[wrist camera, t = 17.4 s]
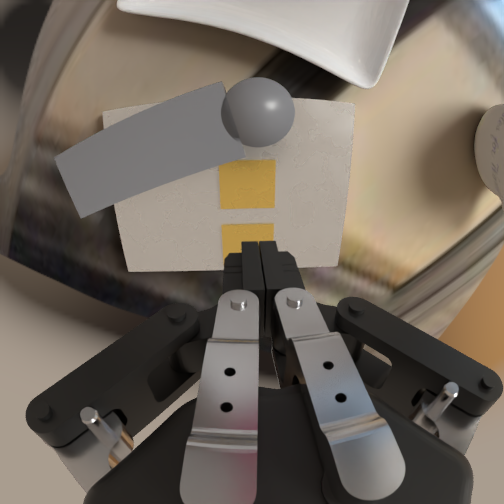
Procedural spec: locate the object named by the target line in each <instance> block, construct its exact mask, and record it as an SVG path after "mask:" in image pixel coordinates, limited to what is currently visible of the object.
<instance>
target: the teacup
mask: <svg viewBox="0 0 504 504" xmlns="http://www.w3.org/2000/svg"><path fill="white" fill-rule="evenodd" d="M474 152H475V159H476V165H477V169H478V172H479V174H480V177H481V179H482V180H483V182H484V184H485V185H486V186H487V187H488V188H489V189H490V190H491V191H492V192H493V193H494V194H496V195H497V196H499V198H500V200H501V202H502V207H503V211H504V104H499V105H495V106H493V107H491V108H490V109H489V110H487V112H486V113H485V114H484V115H483V117H482V119H481V121H480V123H479V125H478V128H477V130H476V134H475V141H474Z"/></svg>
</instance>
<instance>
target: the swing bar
mask: <svg viewBox="0 0 504 504" xmlns="http://www.w3.org/2000/svg"><path fill="white" fill-rule="evenodd" d="M294 118H295V107H294V103H293V100H292V98H291V96H290V94H289V93H288V91H287V90H286V89H285V88H284V87H283V86H281V85H280V84H279V83H277V82H275V81H273V80H270V79H267V78H260V77H256V78H249V79H245V80H243V81H241V82H239V83H237V84H236V85H234V86H233V87H232V88H231V89H230V90H229V91H228V92H227V93H226V90H225V87H224V84H223V83H222V81H221V82H218V83H215V84H212V85H208V86H205V87H202V88H200V89H197V90H194V91H191V92H188V93H185V94H183V95H180V96H177V97H175V98H172V99H170V100H167V101H165V102H162V103H160V104H157V105H155V106H153V107H150V108H148V109H146V110H143V111H141V112H139V113H137V114H134V115H132V116H130V117H128V118H126V119H124V120H122V121H119V122H117V123H115V124H113V125H111V126H109V127H107V128H105V129H103V130H102V131H100V132H98V133H96V134H94V135H92V136H90V137H88V138H87V139H85V140H83V141H81V142H80V143H78V144H76V145H74V146H73V147H71V148H69V149H68V150H66V151H64V152H63V153H61V154H59V155H58V156H56V157H54V159H55V161H56V164H57V166H58V169H59V171H60V174H61V176H62V178H63V181H64V183H65V185H66V187H67V190H68V192H69V194H70V196H71V198H72V201H73V203H74V205H75V207H76V209H77V211H78V213H79V215H80V217H81V218H83V217H86V216H88V215H90V214H92V213H95V212H97V211H99V210H102V209H104V208H106V207H108V206H111V205H113V204H116V203H118V202H120V201H123V200H125V199H128V198H130V197H133V196H135V195H138V194H140V193H143V192H145V191H148V190H151V189H153V188H156V187H159V186H161V185H164V184H167V183H169V182H172V181H175V180H178V179H180V178H183V177H186V176H189V175H192V174H195V173H198V172H201V171H204V170H207V169H210V168H213V167H216V166H219V165H222V164H226V163H229V162H232V161H235V160H239V159H242V158H245V157H246V155H245V149H244V146H243V145H246V146H250V147H266V146H270V145H273V144H275V143H277V142H278V141H280V140H281V139H283V138H284V137H285V136H286V135H287V133H288V132H289V131H290V129H291V127H292V125H293V122H294Z"/></svg>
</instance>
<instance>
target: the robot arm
mask: <svg viewBox="0 0 504 504" xmlns="http://www.w3.org/2000/svg"><path fill="white" fill-rule="evenodd" d="M263 332H265V337H272V356H273V360H274V365H275V369H276V373H277V377H278V381H279V385H280V389H271V388H264V387H258V363H259V348H260V337H263ZM365 344H366V345H368V346H369V347H371V348H373V349H374V350H376V351H378V352H379V353H381V354H383V355H384V356H386V357H387V358H389V360H390V361H391V363H392V366H390V365H388V364H387V363H385V362H383V361H382V360H380V359H378V358H377V357H375V356H374V355H372V354H370V353H369V352H367V351H365V350H364V349H363V348H364V345H365ZM200 378H201V379H200ZM199 379H200V384H199V390H198V396H197V398H195V399H193V400H191V401H189V402H187V403H186V404H184V405H182V406H181V407H180V408H178V409H177V410H176V411H175V412H174V413H173V414H172V415H171V416H170V417H169V418H168V419H167V420H166V421H164V422H163V423H162V425H160V426H159V427H158V428H157V429H156V430H155V431H154V432H153V433H152V434H151V435H150V436H149V437H147V438H146V439H145V440H144V441H143V442H142V443H141V444H140V445H139V446H137V447H136V448H135V449H134V450H133V446H134V441H133V437H134V436H135V435H136V434H137V433H138V432H140V431H141V430H142V429H143V428H144V427H146V425H148V424H149V423H150V422H151V421H153V420H154V419H155V418H156V417H157V416H159V415H160V414H161V413H162V412H163V411H164V410H165V409H166V408H168V407H169V406H170V405H171V404H172V403H173V402H174V401H176V400H177V399H178V398H179V397H180V396H181V395H182V394H183V393H185V392H186V391H187V390H188V389H189V388H190V387H191V386H192V385H193V384H195V383H196V382H197V381H198V380H199ZM502 391H503V385H502V381H501V379H500V377H499V376H498V375H497V374H496V373H495V372H494V371H493V370H491V369H489V368H488V367H486V366H484V365H482V364H480V363H478V362H477V361H475V360H473V359H472V358H470V357H468V356H466V355H464V354H463V353H461V352H459V351H457V350H456V349H454V348H452V347H450V346H448V345H447V344H445V343H443V342H441V341H439V340H438V339H436V338H434V337H432V336H430V335H429V334H427V333H425V332H423V331H421V330H420V329H418V328H416V327H414V326H412V325H410V324H409V323H407V322H405V321H403V320H401V319H400V318H398V317H396V316H394V315H392V314H390V313H389V312H387V311H385V310H383V309H381V308H379V307H378V306H376V305H374V304H372V303H370V302H368V301H367V300H364V299H362V298H358V297H347V298H344V299H342V300H341V301H340V302H339V303H338V305H337V307H335V306H329V305H323V304H320V303H317V302H315V299H314V297H313V296H312V295H311V293H309V292H308V291H306V290H305V287H304V284H303V281H302V278H301V275H300V272H299V269H298V266H297V263H296V260H295V257H294V256H293V255H291V254H290V253H289V252H288V251H278V248H277V244H276V241H259V246H258V241H241V253H229V254H228V255H227V257H226V258H225V259H224V275H223V295H222V296H221V297H220V299H219V302H218V304H217V305H216V306H214V307H212V308H210V309H207V310H204V311H200V312H197V311H196V309H195V308H194V307H193V306H191V305H188V304H184V303H176V304H171V305H168V306H166V307H164V308H163V309H161V310H160V311H159V312H157V313H156V314H154V315H153V316H151V317H150V318H148V319H147V320H146V321H144V322H143V323H141V324H140V325H139V326H137V327H136V328H134V329H133V330H131V331H130V332H128V333H127V334H125V335H124V336H123V337H121V338H120V339H118V340H117V341H115V342H114V343H113V344H111V345H110V346H108V347H107V348H105V349H104V350H102V351H101V352H100V353H98V354H97V355H95V356H94V357H92V358H91V359H90V360H88V361H87V362H85V363H84V364H82V365H81V366H80V367H78V368H77V369H75V370H74V371H72V372H71V373H69V374H68V375H67V376H65V377H64V378H62V379H61V380H59V381H58V382H57V383H55V384H54V385H53V386H51V387H49V388H48V389H47V390H45V391H44V392H42V393H41V394H40V395H38V396H37V397H35V398H34V399H33V400H32V401H31V402H30V404H29V405H28V407H27V410H26V421H27V424H28V426H29V427H30V428H31V429H32V430H33V431H34V432H35V433H36V434H37V435H38V436H39V437H41V438H42V440H43V441H44V442H45V443H46V444H47V445H48V446H49V447H50V448H52V449H53V450H54V451H55V452H56V453H57V454H58V456H59V457H60V459H61V460H62V462H63V463H64V464H65V466H66V467H67V469H68V470H69V471H70V473H71V474H72V475H73V476H74V478H75V479H76V481H77V482H78V483H79V484H80V485H81V487H82V488H83V489H84V490H85V492H86V493H87V495H86V497H85V499H84V503H83V504H470V503H471V495H472V489H473V472H472V468H471V466H470V463H469V462H468V460H467V458H466V457H465V456H464V455H465V453H466V451H467V449H468V447H469V445H470V442H471V440H472V438H473V435H474V433H475V431H476V428H477V426H478V423H479V421H480V418H481V417H482V416H483V415H484V414H485V413H486V412H487V411H488V409H489V408H490V407H491V406H492V405H493V404H494V403H495V402H496V401H497V400H498V398H499V397H500V396H501V394H502ZM132 450H133V451H132Z"/></svg>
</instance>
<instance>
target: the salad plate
mask: <svg viewBox="0 0 504 504" xmlns="http://www.w3.org/2000/svg"><path fill="white" fill-rule="evenodd" d="M408 3H409V0H117V8H118V9H119V10H121V11H123V12H126V13H131V14H138V15H145V16H152V17H161V18H168V19H175V20H182V21H188V22H194V23H199V24H204V25H208V26H212V27H216V28H220V29H224V30H228V31H232V32H235V33H239V34H242V35H245V36H248V37H251V38H254V39H257V40H260V41H262V42H265V43H268V44H271V45H273V46H276V47H278V48H281V49H283V50H285V51H288V52H290V53H292V54H294V55H296V56H298V57H301V58H303V59H305V60H307V61H309V62H311V63H313V64H315V65H317V66H319V67H321V68H323V69H324V70H326V71H328V72H330V73H332V74H334V75H336V76H338V77H339V78H341V79H343V80H345V81H347V82H349V83H351V84H353V85H355V86H357V87H360V88H363V89H370V88H373V87H374V86H375V85H376V83H377V82H378V80H379V78H380V76H381V74H382V72H383V70H384V67H385V65H386V62H387V60H388V57H389V55H390V52H391V49H392V47H393V44H394V41H395V38H396V36H397V33H398V30H399V28H400V25H401V22H402V20H403V17H404V14H405V11H406V9H407V6H408Z"/></svg>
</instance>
